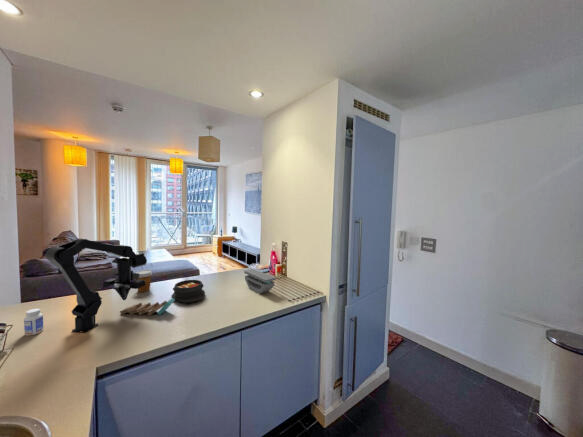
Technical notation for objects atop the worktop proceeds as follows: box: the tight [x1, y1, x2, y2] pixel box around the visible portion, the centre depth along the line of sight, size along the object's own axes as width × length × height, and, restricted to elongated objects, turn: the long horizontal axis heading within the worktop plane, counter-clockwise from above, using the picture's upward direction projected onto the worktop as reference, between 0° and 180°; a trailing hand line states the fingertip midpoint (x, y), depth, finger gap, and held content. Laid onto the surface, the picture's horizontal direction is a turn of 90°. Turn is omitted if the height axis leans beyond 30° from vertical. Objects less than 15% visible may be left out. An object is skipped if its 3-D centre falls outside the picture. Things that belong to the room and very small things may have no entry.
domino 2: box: [128, 302, 152, 316], centre depth 118 cm, size 5×2×8 cm
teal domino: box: [157, 297, 176, 316], centre depth 118 cm, size 5×2×8 cm
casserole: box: [171, 279, 206, 304], centre depth 139 cm, size 25×19×8 cm
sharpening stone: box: [243, 268, 276, 295], centre depth 153 cm, size 25×8×11 cm, turn 43°
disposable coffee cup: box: [135, 269, 153, 293], centre depth 147 cm, size 10×10×12 cm
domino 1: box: [119, 302, 143, 315], centre depth 118 cm, size 5×2×8 cm
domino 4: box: [146, 300, 168, 316], centre depth 117 cm, size 5×2×8 cm
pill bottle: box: [23, 308, 44, 337], centre depth 98 cm, size 5×5×10 cm
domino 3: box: [137, 301, 160, 316], centre depth 118 cm, size 5×2×8 cm
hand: (124, 299), depth 118 cm, fingers closed
